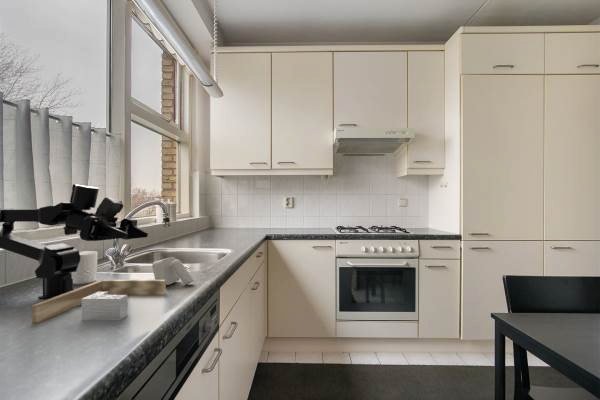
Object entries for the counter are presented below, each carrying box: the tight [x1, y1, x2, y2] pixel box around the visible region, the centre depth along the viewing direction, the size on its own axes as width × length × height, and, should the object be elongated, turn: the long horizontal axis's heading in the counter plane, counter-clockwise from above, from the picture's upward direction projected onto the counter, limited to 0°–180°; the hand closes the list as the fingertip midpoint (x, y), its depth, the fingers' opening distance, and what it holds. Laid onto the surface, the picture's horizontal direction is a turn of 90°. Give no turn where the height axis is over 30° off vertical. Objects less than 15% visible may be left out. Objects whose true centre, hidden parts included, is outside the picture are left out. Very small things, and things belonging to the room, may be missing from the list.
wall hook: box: [151, 256, 194, 286], centre depth 102 cm, size 8×10×10 cm
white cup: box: [71, 250, 99, 285], centre depth 107 cm, size 8×8×10 cm
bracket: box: [81, 292, 129, 322], centre depth 74 cm, size 9×6×5 cm, turn 88°
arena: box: [31, 279, 167, 324], centre depth 81 cm, size 20×23×4 cm
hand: (137, 235), depth 88 cm, fingers open, 9 cm apart
